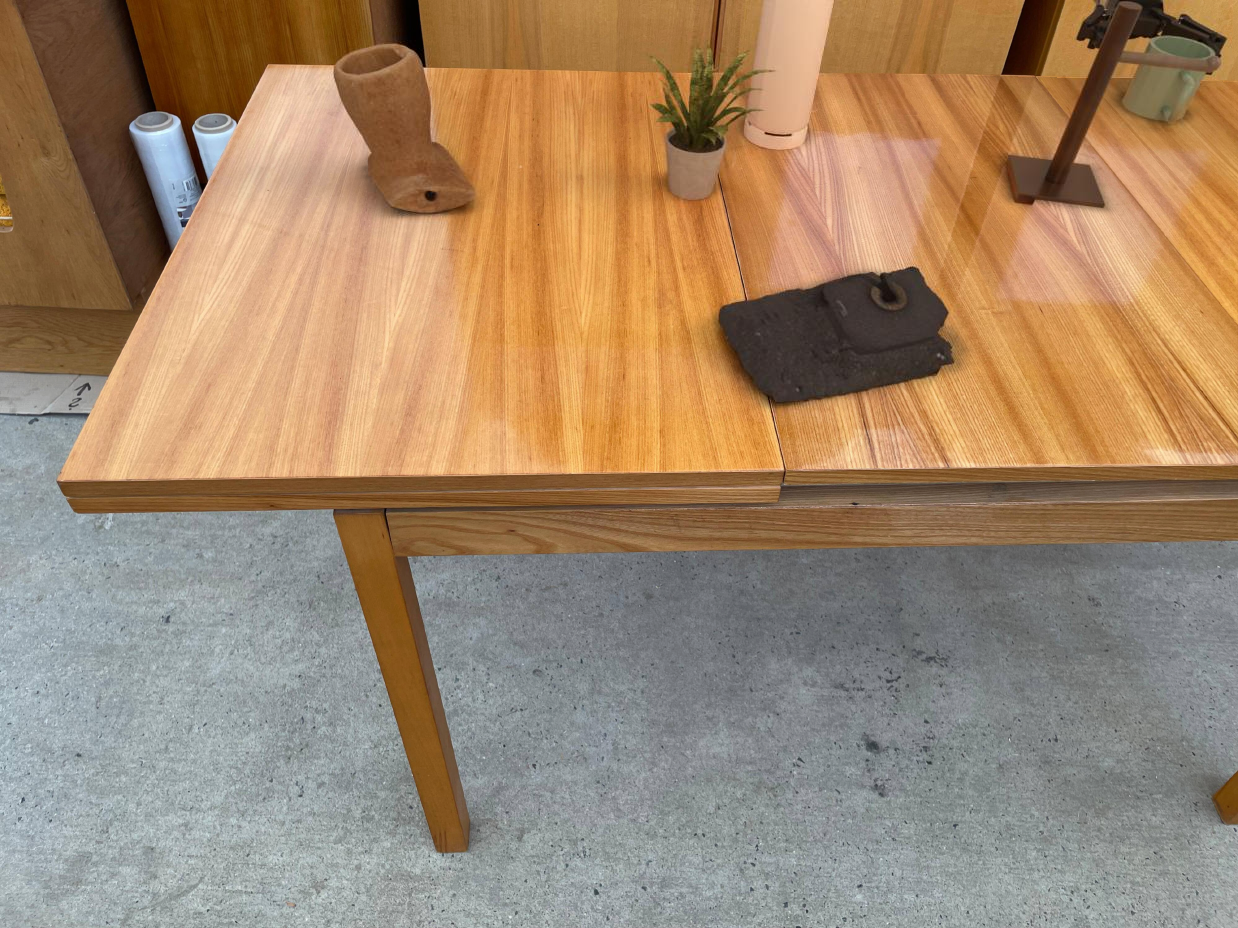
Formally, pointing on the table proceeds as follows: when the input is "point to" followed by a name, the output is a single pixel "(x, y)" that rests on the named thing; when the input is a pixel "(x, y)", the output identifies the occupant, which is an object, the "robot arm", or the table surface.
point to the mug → (1166, 81)
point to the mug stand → (1089, 120)
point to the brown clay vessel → (399, 129)
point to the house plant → (699, 125)
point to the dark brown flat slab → (840, 335)
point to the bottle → (786, 71)
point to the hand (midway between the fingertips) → (1163, 59)
